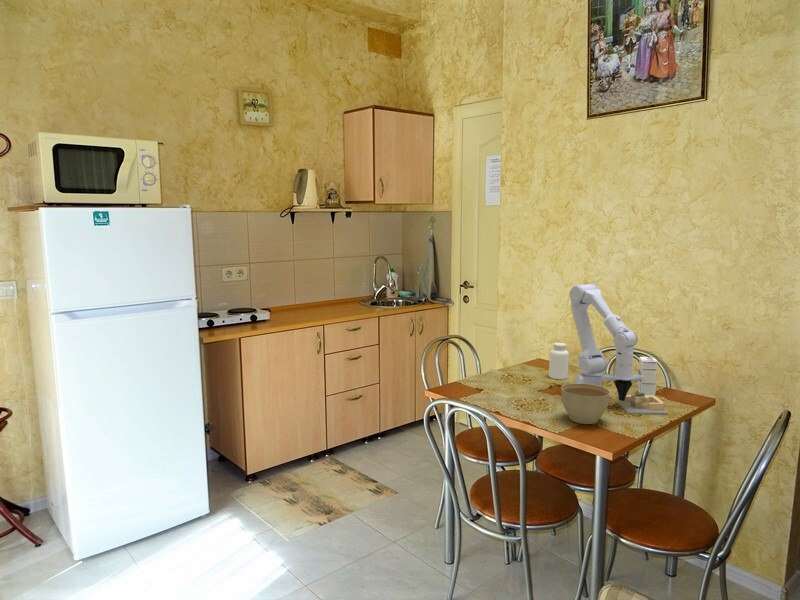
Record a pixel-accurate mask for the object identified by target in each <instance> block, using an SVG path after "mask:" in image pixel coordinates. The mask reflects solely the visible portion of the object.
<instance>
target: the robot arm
mask: <svg viewBox="0 0 800 600" xmlns="http://www.w3.org/2000/svg"><path fill="white" fill-rule="evenodd" d="M568 294H569V295H568V296H569V298H570V308H571V309H570V310H571V313H572V316H573V320H574V324H575V328H576V332H577V336H578V340H579V344H580V348H581V353H580V354H579V355H578V368H579V370H580V372H581V373H577V374H576V375H575V376H576V377H575V383H583V384H592V385H598V386H601V387H603V385H602V384H603V382H611V381H612V382H613V383H614V385H615V387H616V392H617V395H618V396H619V400H621V401H625V397H626V395H628V392H629V390H630V389H631V387H632V386H633V382H638V381H641V382H644V376H642V375H638V374H633V362H634V360H633V359H634V350H635V349H634V347H635V346H636V345H637V344H638V341H639V340H638V339H639V338H638V336H637V334H636V332H635V331H633V330H631V329H629V328H628V327H627V326H626V324H625V323H624V322H623V321H622V317H621V316H619V315H618V314H613V312H612V311H611V309H610V308H609V305H608V304H607V303H606V301H605V300H604V298H603V297H602V290H601V289H600V288H599V287H598V285H597V284H595V283H588V284H587V283H586V284H574V285H572V287H571V289H570V291H569V293H568ZM590 305H592V307H594V308H595V310H596V311H597V312H598V314H600V315H601V317H602V318H603V319H604V326H605V328H607V330H608V331H609V333H610V334H611V336H612V337H613V344H614V346H615V366H614V367H615V368H614V373H613V374H612V373H611V374H604V372H605V371H606V370H607V369H608V362H607V359H606V358H605V356H604V354H603V352H602V351H601V350H600V349H598V348H597V344H596V341H595V336H594V333H593V329H592V325H591V322H590V317H589V314H588V311H587V310H588V308H589V306H590Z"/></svg>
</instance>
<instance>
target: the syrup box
mask: <svg viewBox="0 0 800 600" xmlns="http://www.w3.org/2000/svg"><path fill="white" fill-rule="evenodd" d="M657 371H658V360H657V359H656V358H655V357H654V356H653V357H652V356H639V361H638V374H637V375H642V376H644V382H641V381H637V393H644V394H645V395H654V396H656V391H657V390H656V389H657V388H656V387H657Z"/></svg>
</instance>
